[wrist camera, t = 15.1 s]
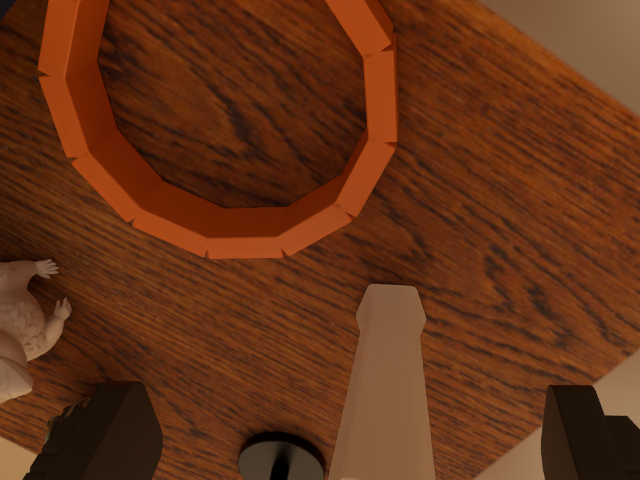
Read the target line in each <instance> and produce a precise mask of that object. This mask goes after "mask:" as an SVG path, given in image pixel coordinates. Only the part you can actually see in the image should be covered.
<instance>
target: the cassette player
mask: <svg viewBox="0 0 640 480" xmlns="http://www.w3.org/2000/svg"><path fill="white" fill-rule="evenodd" d="M15 1H16V0H0V21H1V19H2V18H3V17H4V15H5V14H6V13H7V12H8V10H9V9H10V8H11V6H12V5H13V4H14V2H15Z"/></svg>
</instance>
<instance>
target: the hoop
mask: <svg viewBox="0 0 640 480" xmlns="http://www.w3.org/2000/svg"><path fill="white" fill-rule="evenodd" d="M109 1H110V0H48V6H47V12H46V19H45V25H44V31H43V37H42V43H41V50H40V56H39V62H38V68H37V69H38V71H41V72H43V73H44V74H42V75H40V76H38V79H39V81H40V84H41V87H42V90H43V93H44V96H45V98H46V101H47V104H48V107H49V110H50V112H51V115H52V118H53V121H54V124H55V126H56V129H57V132H58V135H59V138H60V141H61V143H62V146H63V149H64V152H65V155H66V157H67V158H70V157H76V158H75V159H74V160H73V161H71V164H72V165H73V167H74V168H75V169H76V170H77V171H78V172H79V173H80V174H81V175H82V176H83V177H84V178H85V179H86V180H87V181H88V182H89V183H90V184H91V185H92V187H93V188H94V189H95V190H96V191H97V192H98V193H99V194H100V195H101V196H102V197H103V198H104V199H105V200H106V201H107V202H108V203H109V204H110V205H111V206H112V208H113V209H114V210H115V211H116V212H117V213H118V214H119V215H120V216H121V217H122V218H123V219H124V220H125V221H126V222H129V221H131V220H132V219H134V221H133V225H132V226H133V227H135V228H137V229H139V230H141V231H144V232H146V233H148V234H151V235H153V236H155V237H157V238H160V239H162V240H164V241H167V242H169V243H171V244H173V245H176V246H178V247H180V248H183V249H185V250H187V251H189V252H192V253H194V254H196V255H199V256H201V257H204V256H205V255H206V253H207V252H208V256H209V258H210V259H230V258H283V256H284V253H286V254H287V255H288V256H290V255H292V254H294V253H296V252H298V251H299V250H301V249H303V248H305V247H307V246H309V245H310V244H312V243H314V242H316V241H318V240H319V239H321V238H323V237H325V236H327V235H328V234H330V233H332V232H334V231H336V230H337V229H339V228H341V227H343V226H345V225H347V224H348V223H350V222H352V221H353V216H355V217H357V216H358V215H359V213H360V211H361V209H362V208H363V206H364V204H365V202H366V201H367V199H368V197H369V195H370V193H371V192H372V190H373V188H374V186H375V185H376V183H377V181H378V179H379V178H380V176H381V174H382V172H383V171H384V169H385V167H386V165H387V164H388V162H389V160H390V158H391V156H392V155H393V153H394V151H395V149H396V142H397V140H398V126H399V99H398V71H397V44H396V33H393V27H394V25H393V24H392V22H391V20H390V19H389V17H388V16H387V14H386V12H385V11H384V9H383V8H382V6H381V4H380V3H379V1H378V0H325V1H326V3H327V4H328V6H329V7H330V9H331V10H332V12H333V13H334V15H335V16H336V18H337V19H338V21H339V22H340V24H341V26H342V27H343V29H344V30H345V32H346V33H347V35H348V36H349V38H350V39H351V41H352V42H353V44H354V45H355V47H356V48H357V50H358V51H359V53H360V54H361V56H362V57H363V70H364V85H365V100H366V115H367V126H366V128H365V130H364V132H363V134H362V136H361V137H360V139H359V141H358V143H357V145H356V147H355V149H354V151H353V153H352V155H351V157H350V159H349V160H348V162H347V164H346V166H345V168H344V170H343V172H342V174H341V175H339V176H338V177H336V178H334V179H333V180H331V181H329V182H328V183H326V184H324V185H323V186H321V187H319V188H318V189H316V190H314V191H313V192H311V193H309V194H308V195H306V196H304V197H303V198H301V199H299V200H298V201H296V202H294V203H293V204H291V205H289V206H288V207H257V208H222V207H220V206H218V205H216V204H214V203H211V202H209V201H207V200H205V199H202V198H200V197H198V196H196V195H194V194H191V193H189V192H187V191H185V190H182V189H180V188H178V187H176V186H173V185H171V184H169V183H167V182H165V181H163V180H162V179H161V178H160V176H159V175H158V174H157V173H156V172H155V171H154V170H153V169H152V167H151V166H150V165H149V164H148V163H147V162H146V161H145V160H144V158H143V157H142V156H141V155H140V154H139V153H138V152H137V151H136V149H135V148H134V147H133V146H132V145H131V144H130V143H129V142H128V140H127V139H126V138H125V137H124V136H123V135H122V134H121V133H120V131H119V130H118V129H117V126H116V123H115V119H114V116H113V112H112V109H111V106H110V102H109V99H108V96H107V92H106V89H105V86H104V82H103V79H102V76H101V72H100V69H99V66H98V62H97V56H98V52H99V47H100V43H101V38H102V33H103V29H104V24H105V20H106V15H107V11H108V6H109Z"/></svg>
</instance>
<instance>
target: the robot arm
mask: <svg viewBox="0 0 640 480" xmlns="http://www.w3.org/2000/svg"><path fill="white" fill-rule="evenodd" d="M162 445H163V438H162V431H161V428H160V425H159V423H158V420H157V417H156V415H155V412H154V409H153V407H152V404H151V401H150V399H149V396H148V393H147V391H146V388H145V386H144V385H143V383H141V382H139V381H105V382H103V383H101V384H100V385H99V386H98V388H97V389H96V391H95V393H94V394H93V396H92V398H91V399H90V401H89V403H88V404H87V406H86V407H77V408H76V409H75V410H74V411H73V412H72V413H70V414H69V415H68V416H67V417H66V418H65V419H64V420H63V421H62V422H61V423H59V424H58V425H57V426H56V427H55V429H54V431H53V432H52V434H51V435H50V437H49V439H48V440H47V442H46V443H45V445H44V446H43V448H42V453H41V454H38V456H37V457H36V459H35V461H34V462H33V464H32V466H31V467H30V472H29V473H26V475H25V476H24V478H23V480H152V477H153V475H154V473H155V470H156V468H157V466H158V463H159V460H160V457H161V453H162ZM541 456H542V464H543V471H544V476H545V480H640V429H639V428H638V427H637V426H636V425H635V424H634V423H633V422H632V421H631V420H630V419H629V417H628V416H606V415H604V412H603V410H602V407H601V404H600V401H599V399H598V396H597V393H596V391H595V389H594V388H593V386H591V385H549V386H548V388H547V393H546V401H545V410H544V419H543V428H542V437H541Z"/></svg>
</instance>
